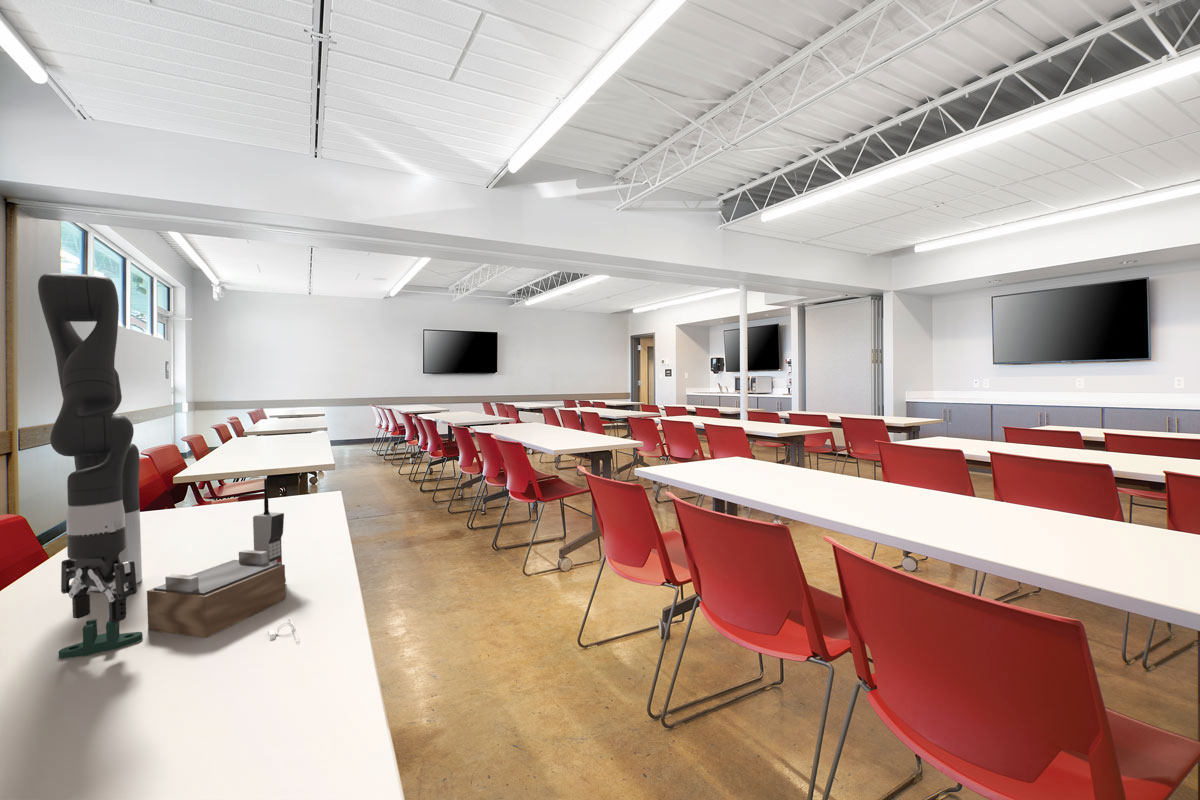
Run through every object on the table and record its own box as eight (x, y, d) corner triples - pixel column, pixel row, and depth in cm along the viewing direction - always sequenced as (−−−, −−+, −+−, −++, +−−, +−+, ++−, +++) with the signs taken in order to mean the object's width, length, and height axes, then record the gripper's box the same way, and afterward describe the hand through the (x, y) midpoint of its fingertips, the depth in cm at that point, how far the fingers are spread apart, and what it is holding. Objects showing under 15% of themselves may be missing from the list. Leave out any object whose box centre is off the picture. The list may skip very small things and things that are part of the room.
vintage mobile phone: (273, 589, 122) (270, 480, 121) (254, 588, 123) (251, 479, 122) (286, 583, 125) (283, 477, 125) (268, 582, 126) (265, 477, 126)
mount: (55, 663, 90) (54, 633, 90) (62, 652, 94) (61, 624, 93) (141, 644, 96) (140, 616, 96) (143, 635, 100) (142, 608, 100)
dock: (148, 630, 101) (146, 576, 101) (233, 594, 119) (232, 548, 119) (206, 637, 98) (205, 581, 98) (285, 599, 116) (284, 551, 115)
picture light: (301, 646, 95) (300, 635, 95) (272, 654, 93) (272, 642, 93) (292, 619, 107) (292, 608, 107) (266, 625, 104) (266, 614, 104)
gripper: (41, 531, 92) (44, 624, 92) (102, 535, 89) (105, 631, 89) (91, 521, 100) (94, 607, 100) (150, 524, 96) (152, 613, 96)
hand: (99, 618), depth 94 cm, fingers open, 8 cm apart
